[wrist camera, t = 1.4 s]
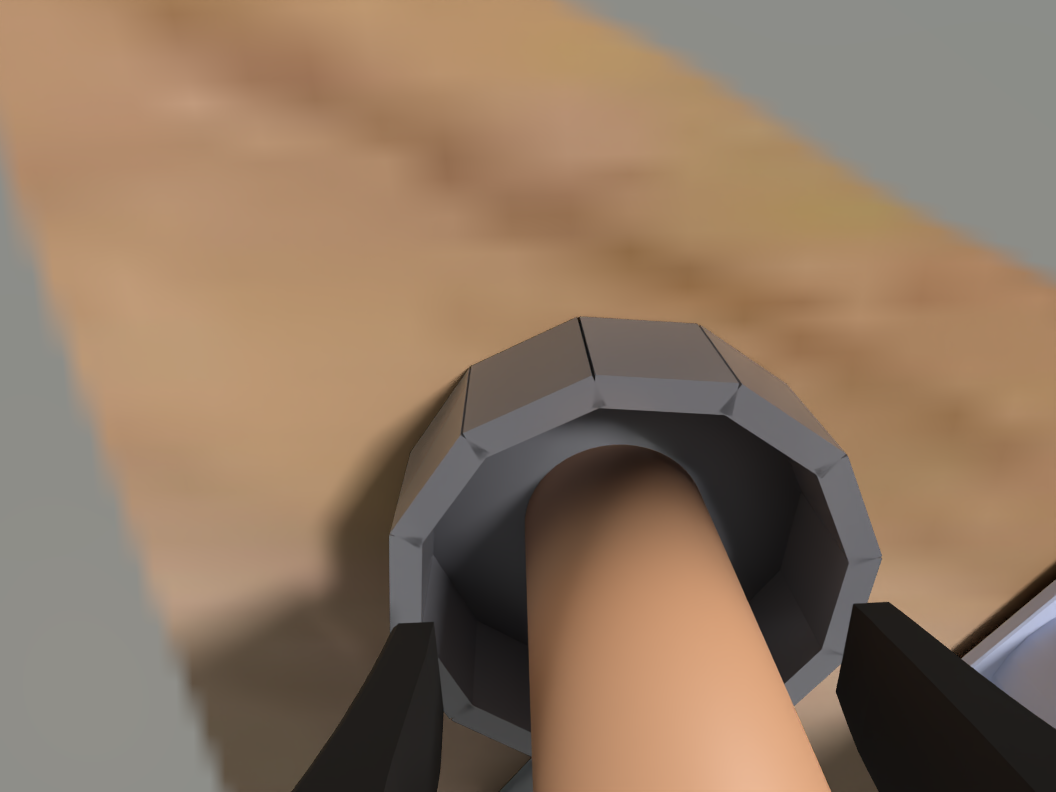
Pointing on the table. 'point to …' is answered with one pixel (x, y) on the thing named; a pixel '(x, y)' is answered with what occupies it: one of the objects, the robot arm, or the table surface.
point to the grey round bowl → (622, 419)
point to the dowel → (647, 641)
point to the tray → (521, 780)
